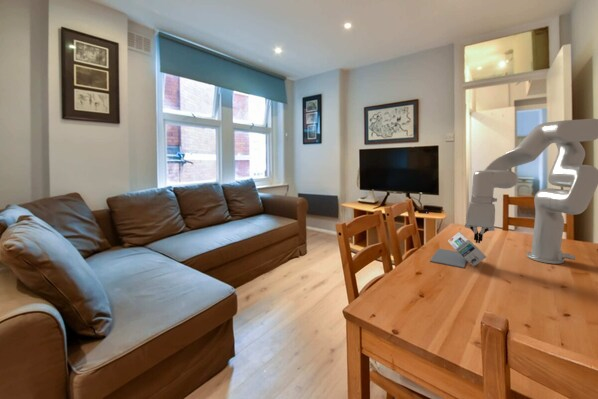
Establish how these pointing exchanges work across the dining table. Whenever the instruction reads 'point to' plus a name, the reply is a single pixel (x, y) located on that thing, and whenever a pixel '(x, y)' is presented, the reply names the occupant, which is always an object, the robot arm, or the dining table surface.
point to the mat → (449, 258)
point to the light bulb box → (466, 249)
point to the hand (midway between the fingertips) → (477, 242)
